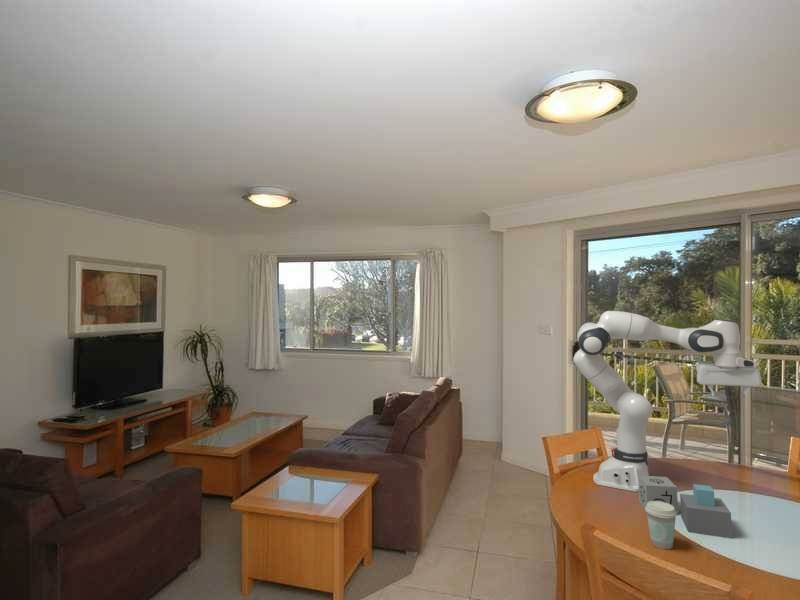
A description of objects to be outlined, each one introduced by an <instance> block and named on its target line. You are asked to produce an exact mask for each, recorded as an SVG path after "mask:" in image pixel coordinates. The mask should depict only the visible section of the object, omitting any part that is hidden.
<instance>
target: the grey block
mask: <svg viewBox="0 0 800 600" xmlns="http://www.w3.org/2000/svg"><path fill="white" fill-rule="evenodd" d="M679 496H680V499H679V500H680V517H681V521H682V522H683V524H684V527H685V528H686V531H687V532H688V533H692V534H699V535H705V536H706V535H707V536H713V537H719V538H720V537H721V538H726V539H727V538H728V539H733V528H732V512H731V511H730V510H729V508H728V506H727V505H726V504H725V502H724V501H723V500H722V498H720V497H714V498H715V507H712V506H703V505H697V504H696V502H695V500H694V494H687V493H679Z"/></svg>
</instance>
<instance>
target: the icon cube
mask: <svg viewBox="0 0 800 600" xmlns="http://www.w3.org/2000/svg"><path fill="white" fill-rule="evenodd" d="M638 487H639V491H638V502H639V504H640V505H641V507H642V508H643V509H644V511H645V512H646V510H645V508H646V506H647V503H648V502H650V501H661V502H665V503H668V504H670V505H672V506H673V507H674V508H675V511H676V514H677V516H679V507H678V506H679V505H678V487H677V485H675V484H674V482H673V481H672V480H670V479H669V477H667V476H657V475H656V476H655V475H649V476H639V475H638Z"/></svg>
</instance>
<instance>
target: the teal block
mask: <svg viewBox="0 0 800 600" xmlns="http://www.w3.org/2000/svg"><path fill="white" fill-rule="evenodd" d="M692 491H693V492H692V493H693V495H694V500H695V502H696V504H697V505H703V506H712V507H715V498H716V497H715V490H714V489H713V488H712V486H711V485H703V484H694V483H693V484H692Z"/></svg>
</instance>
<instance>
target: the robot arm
mask: <svg viewBox="0 0 800 600" xmlns="http://www.w3.org/2000/svg"><path fill="white" fill-rule="evenodd" d="M576 334H577V338H576V339H577V343H578V346H579V349H578V350H577V351H576V352H575V353H574V356H573V357H572V358H573V363H574V365H575V366H576V368H577V369H578V371H579V372H580V373H581V375H583V377H585V379H586V380H587V381H588V382H589V383H590V384H591V385H592V386H593V387H594V388H595V389H596V390H597V391H598V392H599V393H600V395H602V397H603V398H604V399H605V400H606V402H607V403H608V404H609V405H610V407H612V408H613V410H615V411H616V412H617V413H619V423H618V427H617V428H616V447H615V446H611V447H610V452H611V455H612V456H611V457H609V458H607V459H606V460H604V461H602V462H601V463H600V464H599V467H598V471H597V472H595V473H594V474H593V476H592V477H593V478H592V479H593V482H594V483H595V484H596V485H597V486H603V487H608V488H614V489H620V490H624V491H629V492H639V487H638V475H639V476H650V473H649V468H648V466H649V464H648V463H649V453H648V450H647V440H646V439H647V436H646V435H647V428H648V424H649V423H648V422H649V419H650V418H651V416H652V414H653V405H652V404H651V402H650V401H649V400H648V398H646V396H644V395H642V394H639V393H637V392H636V391H634V390H632V389H631V388H630V387H629V386H628V384H627V383H626V382H625V381H624V380H623V378H622V376H621V375H620V374H619V373H618V372H617V371H616V370H615V369H614V368H613V367H612V366H611V365H610V364H609V363H608V362H607V361H606V359H604V357H602V356H601V353H602V352H603V351H604V350H605V349H606V347H607V346H608V344H609V343H610V341H611V339H612V338H620V339H624V340H629V341H639V342H641V341H642V342H646V341H648V340H656V341H657V340H659V341H663V342H667V343H668V342H669V343H673V344H676V345H678V346H680V348H682V349H684V350H686V351H688V352H689V351H690V352H695V353H699V354H700V353H701V354H703V353H704V354H705V353H709V352H712V359H713V360H700V361H698V362H696V363H695V370H696V372H697V373H696V383H698V384H699V385H700V386H701V385H702V386H703V385H705V386H707V388H708V389H709V391H710V393H711V394H710V395H711V397H713V398H714V397H715V398H716V397H718V395H717V394H718V392H717V391H714V390H713V388H714V386H732V387H733V386H734V387H736V386H737V387H743V388H744V390H743V392H740V398H741V399H747V398H748V393H749V391H750V390H751V387H758V388H759V387H760V386H761V385H763V384H762V383H763V382H762V377H761V376H762V375H761V372H760V370H759V369H758V368H757V366H758V362H757V361H755V360H751V359H748V358H746V357H742V353H741V349H740V345H741V334H740V328H739V325H738V324H737V322H735V321H733V320H729V319H728V320H727V319H719V318H717V319H713V320H712V321H711V322H709V323H708V324H705V325H703V326H699V327H694V326H688V327H683V328H679V327H678V328H677V327H671V326H667V325H661V324H658V323H656V322H654V321H653V320H651V318H649V317H647V316H644V315H641V314H637V313H635V312H628V311H619V310H607V311H604V312H602V313H601V315H600V316H599V319H598V322H596V321H592V320H591V321H585V322H582V324H581V325H580V326H579V327H578V328H577V333H576Z"/></svg>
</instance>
